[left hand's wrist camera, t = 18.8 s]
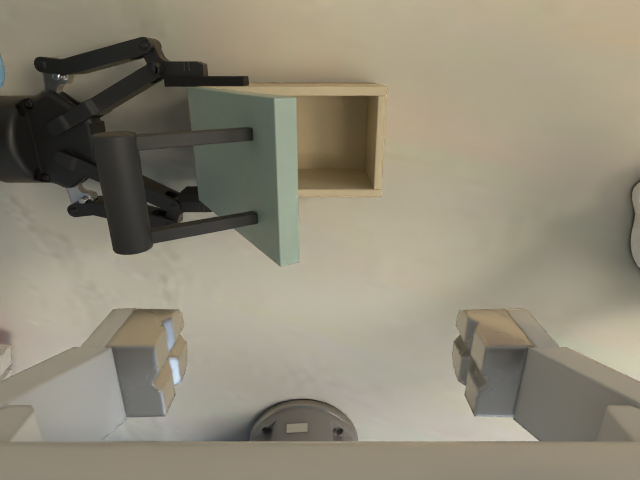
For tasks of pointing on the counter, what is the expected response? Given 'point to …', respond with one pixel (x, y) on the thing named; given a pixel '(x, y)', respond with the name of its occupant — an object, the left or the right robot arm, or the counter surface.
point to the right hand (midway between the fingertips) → (249, 140)
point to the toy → (5, 361)
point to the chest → (335, 135)
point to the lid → (213, 173)
